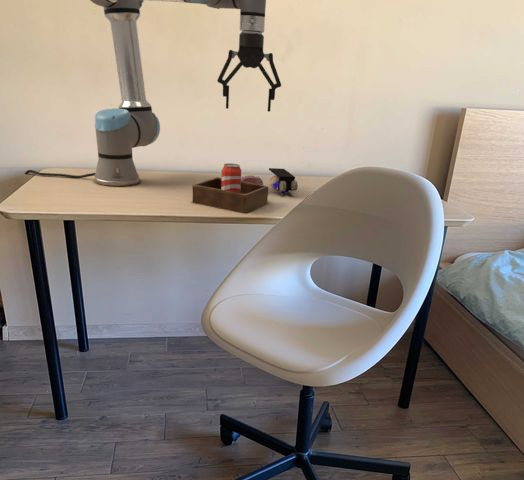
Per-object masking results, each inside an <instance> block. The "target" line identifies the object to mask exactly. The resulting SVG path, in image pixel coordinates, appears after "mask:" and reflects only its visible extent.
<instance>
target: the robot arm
mask: <svg viewBox="0 0 524 480" xmlns="http://www.w3.org/2000/svg"><path fill="white" fill-rule="evenodd" d="M89 1H90V2H91V3H92V4H94V5H96V6H99V7H103V13H104V17H105V18H106V19H107V20H108V21H109V23H110V30H111V35H112V41H113V50H114V55H115V63H116V69H117V77H118V83H119V90H120V97H121V98H120V99H121V103H120V104H119V105H118V108H106V109H102V110H99V111H98V112H96V113H95V114H94V115H95V116H94V128H95V139H96V147H97V157H98V160H97V163H96V164H97V165H96V170H95V172H92V173H86V174H82V175H81V174H80V175H75V174H74V175H73V174H65V173H52V172H51V173H50V172H39V171H36V170H33V169H28V170H26V171H24V175H28V174H30V173H32V174H35V175H38V176H48V177H64V178H72V179H83V178H87V177H94V182H95V183H96V184H99V185H102V186H108V187H109V186H110V187H129V186H135V185H136V184H139V183H140V177H139V174H138V171H137V168H136V165H135V162H134V160H133V158H134V157H133V149H135V148H138V147H139V148H140V147H147V146H148V145H152V144H154V143H155V142H156V140H157V139H158V138H159V136H160V132H161V124H160V120H159V117H158V116H156V114H155V113H154V112H153V107H152V104H151V103H150V102H149V101H148V100H147V94H146V87H145V78H144V71H143V70H144V69H143V62H142V55H141V54H142V53H141V47H140V39H139V31H138V19H139V18H140V17H141V10H140V9H141V8H142V7H143V3H144V1H145V0H89ZM149 1H151V2H168V3H183V4H184V3H185V4H197V5H205V6H207V7H208V8H212V9H217V10H220V9H228V10H229V9H230V10H231V9H232V10H235V9H236V10H240V11H239V31H240V33H239V34H238V35H239V37H238V40H239V42H238V51H235V50H232V49H229V50H228V54H227V55H228V56H227V58H226V61H225V63H224V65H223V67H222V69H221V71H220V74H219V76H218V78H217V80H216V81H217V83H219V84H221V85H222V96H223V97H225V100H226V101H225V109H229V107H230V105H229V104H230V103H229V102H230V85H228V84H229V83H230V81H231V80H232V79H233V77H235V75H236V74H237V73H238V71H240V69H241V68H242V67H244V68H246V69H249V68H251V69H257V68H258V69H259V70H260V72H261V74H262V75H263V77H264V79H265V80H266V81H267V83H268V84H269V87H271V88H268V99H267V112H268V113H269V112H271V107H272V101H275V99H276V98H275V97H276V89H278V88H281V87H282V82H281V80H280V76H279V74H278V71H277V69H276V65H275V63H274V54H273V53H272V52H269V53H264V43H265V42H264V41H265V35H264V34H263V33H265V25H266V7H267V0H148V2H149ZM236 56H237V58H238V60H239V62H238V64H237V65H235V67H234V68H233V69H232V71H231V72H230V73H229V74H228V76H227V77H225V74H226V73H227V71H228V69H229V67H230V65H231V62H232V59H235V57H236ZM264 59H266V62H268V64H269V66H270V69H271V72H272V75H273V78H274V80H275V83H274V81H273V80H272V78H271V77H270V75H269V74H268V72H267V71H266V69H265V68H264V66H263V64H262V61H263V60H264ZM224 77H225V79H224Z"/></svg>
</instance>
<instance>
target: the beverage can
mask: <svg viewBox="0 0 524 480" xmlns="http://www.w3.org/2000/svg"><path fill="white" fill-rule="evenodd" d="M241 176H242V169H241V165H240V164H238V163H224V164H223V167H222V169H221V178H222V184H221V190H226V191H231V192H236V193H240V191H241Z"/></svg>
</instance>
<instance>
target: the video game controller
mask: <svg viewBox="0 0 524 480" xmlns="http://www.w3.org/2000/svg"><path fill="white" fill-rule="evenodd" d="M241 181H242V182H247V183H253V184H258V185H264V181H263V180H262V178H261V177H260V176H255V175H251V174H249V175H245V176H242V175H241Z"/></svg>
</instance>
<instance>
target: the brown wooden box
mask: <svg viewBox="0 0 524 480" xmlns="http://www.w3.org/2000/svg"><path fill="white" fill-rule="evenodd" d="M221 184H222V177H220V176H219V177H218V176H217V177H214V178H210V179H207V180H204V181H199V182H197V183H194V184H192V186H191V187H192V203H194V204H199V205H203V206H208V207H213V208H218V209H223V210H228V211H233V212H237V213H242V214H247V213H249V212H251V211H253V210H257V209H258V208H260V207H262V206H265V205H267V204H268V201H269V200H268V197H269V186H268V185H264V184H263V185H258V184H253V183H247V182H242V181H241V191H240V193H236V192H231V191H226V190H221Z"/></svg>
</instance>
